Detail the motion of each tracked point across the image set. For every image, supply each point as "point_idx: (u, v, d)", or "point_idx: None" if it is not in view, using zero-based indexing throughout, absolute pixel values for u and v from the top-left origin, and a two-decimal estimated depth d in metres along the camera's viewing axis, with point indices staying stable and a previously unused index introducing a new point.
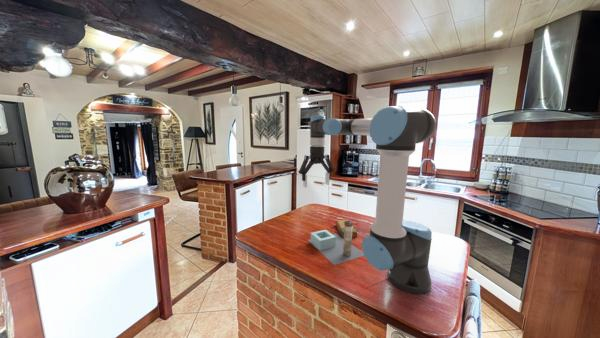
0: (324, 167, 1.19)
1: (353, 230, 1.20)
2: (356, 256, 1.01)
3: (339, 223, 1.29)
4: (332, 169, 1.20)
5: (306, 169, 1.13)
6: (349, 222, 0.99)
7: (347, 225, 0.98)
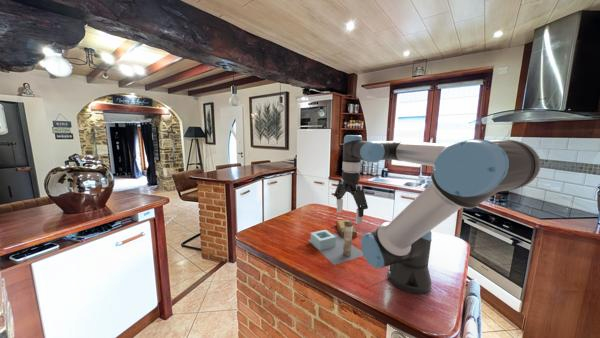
0: None
1: (353, 230, 1.20)
2: (356, 256, 1.01)
3: (339, 223, 1.29)
4: (361, 206, 0.89)
5: (338, 193, 1.03)
6: (349, 222, 0.99)
7: (347, 225, 0.98)
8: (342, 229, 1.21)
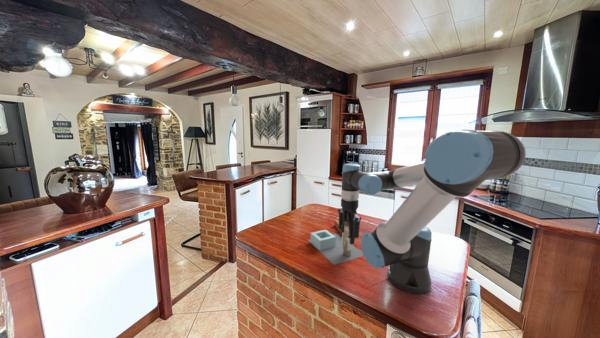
0: None
1: None
2: (356, 256, 1.01)
3: None
4: (353, 235, 0.95)
5: (342, 225, 1.02)
6: None
7: (347, 225, 0.98)
8: None
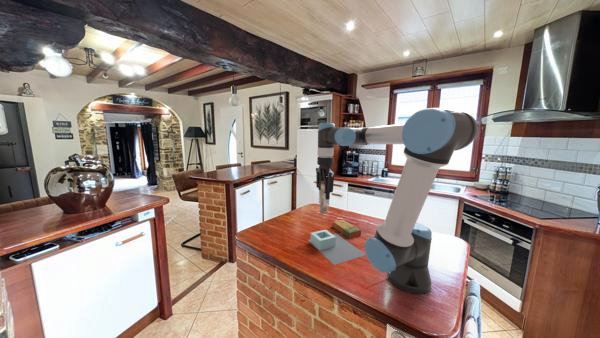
0: None
1: (356, 229, 1.22)
2: (356, 256, 1.01)
3: (338, 224, 1.27)
4: (327, 190, 1.02)
5: (319, 183, 1.09)
6: None
7: (323, 183, 1.04)
8: (347, 230, 1.20)
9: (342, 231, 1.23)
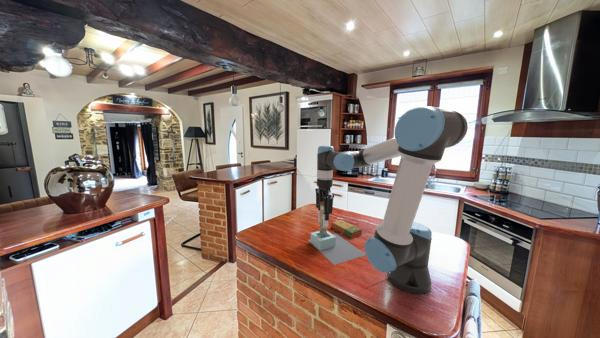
0: None
1: (357, 228, 1.23)
2: (356, 256, 1.01)
3: (338, 225, 1.27)
4: (327, 211, 1.03)
5: None
6: None
7: (322, 204, 1.06)
8: (348, 230, 1.20)
9: (343, 231, 1.22)
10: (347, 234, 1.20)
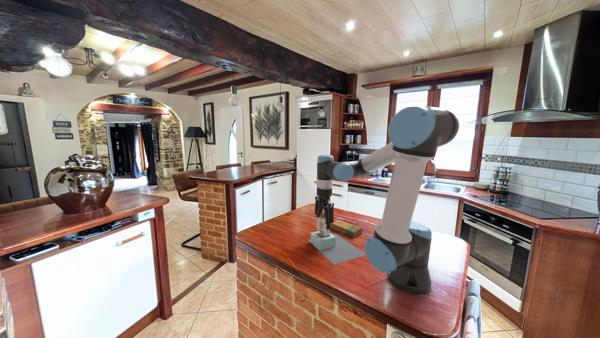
0: None
1: (357, 227, 1.23)
2: (356, 256, 1.01)
3: (338, 225, 1.26)
4: (328, 221, 1.03)
5: None
6: (324, 214, 1.08)
7: (322, 217, 1.07)
8: (350, 230, 1.21)
9: (344, 231, 1.22)
10: (349, 234, 1.20)
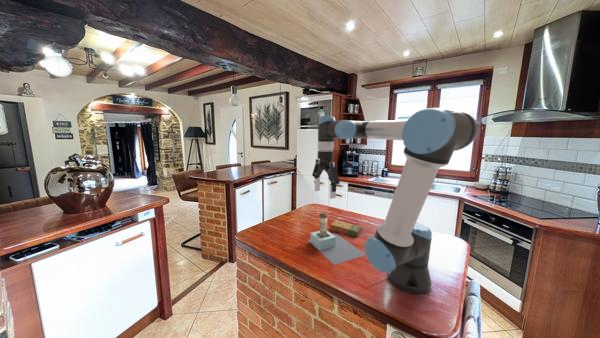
0: None
1: (357, 226, 1.25)
2: (356, 256, 1.01)
3: (339, 226, 1.25)
4: (334, 181, 0.97)
5: (316, 173, 1.11)
6: (324, 214, 1.08)
7: (322, 217, 1.07)
8: (352, 229, 1.21)
9: (346, 232, 1.22)
10: (351, 234, 1.20)
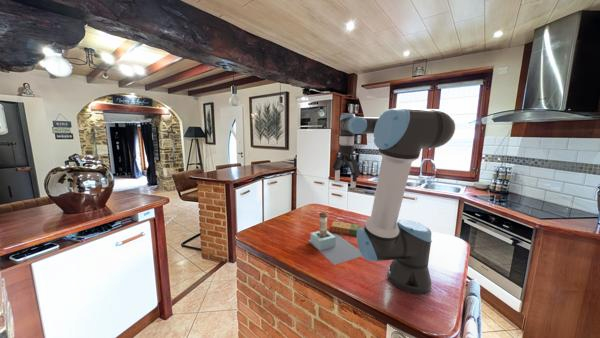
0: None
1: (357, 225, 1.26)
2: (356, 256, 1.01)
3: (339, 227, 1.24)
4: (355, 172, 1.08)
5: (336, 165, 1.22)
6: (324, 214, 1.08)
7: (321, 216, 1.07)
8: (353, 229, 1.22)
9: (348, 232, 1.22)
10: (354, 233, 1.21)
